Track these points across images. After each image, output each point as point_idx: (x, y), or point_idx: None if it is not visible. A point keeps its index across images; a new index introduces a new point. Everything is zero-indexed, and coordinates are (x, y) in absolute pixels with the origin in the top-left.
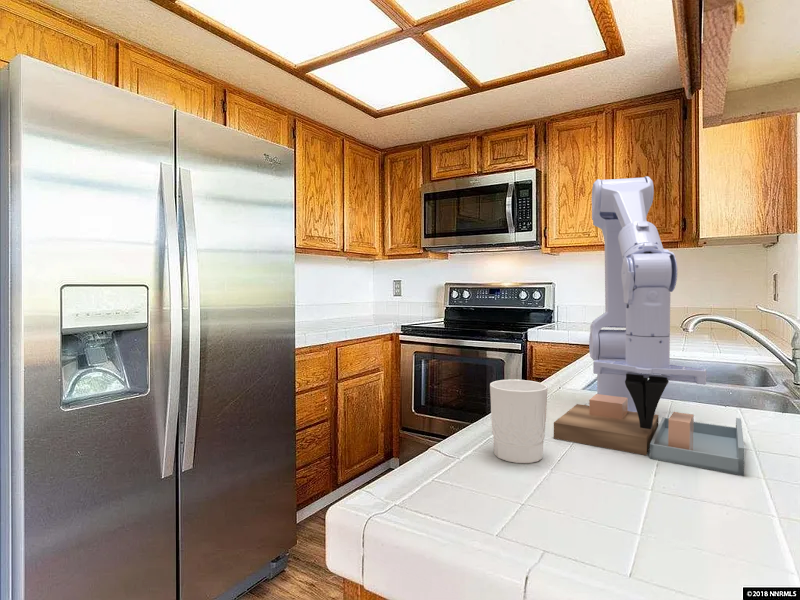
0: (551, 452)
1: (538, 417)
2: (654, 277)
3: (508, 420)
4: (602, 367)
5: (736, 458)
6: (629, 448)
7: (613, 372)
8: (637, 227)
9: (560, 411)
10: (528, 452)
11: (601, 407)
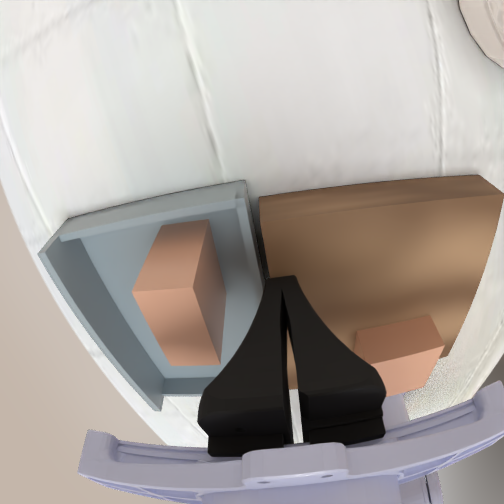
0: (462, 65)
1: None
2: None
3: None
4: (483, 417)
5: (62, 237)
6: (305, 194)
7: (434, 421)
8: None
9: (460, 341)
10: None
11: (412, 339)
